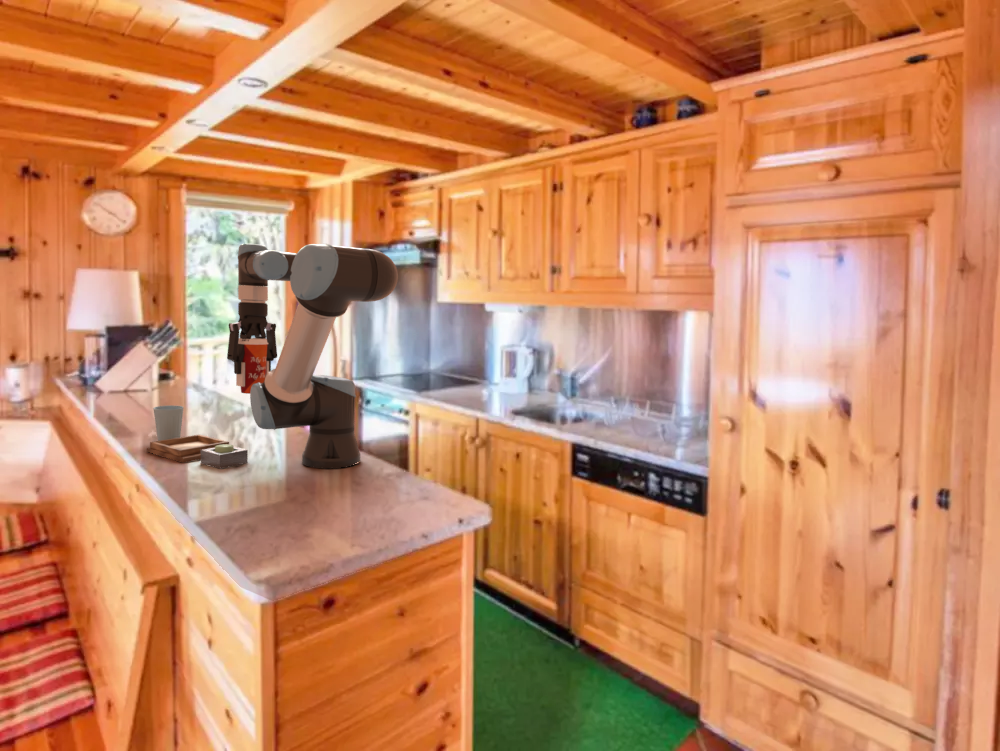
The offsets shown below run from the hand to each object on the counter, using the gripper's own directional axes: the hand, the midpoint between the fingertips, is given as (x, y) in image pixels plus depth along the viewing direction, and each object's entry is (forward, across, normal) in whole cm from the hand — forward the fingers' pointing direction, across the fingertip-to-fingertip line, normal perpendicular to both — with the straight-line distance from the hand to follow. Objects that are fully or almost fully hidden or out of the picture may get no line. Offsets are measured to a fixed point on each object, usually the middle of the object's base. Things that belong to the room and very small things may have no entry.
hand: (252, 384), depth 176 cm
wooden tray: (+19, +12, -10) cm, 24 cm away
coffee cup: (+2, 0, 0) cm, 2 cm away
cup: (+19, +10, -25) cm, 33 cm away
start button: (+18, +13, +6) cm, 23 cm away
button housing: (+19, +13, +6) cm, 24 cm away
